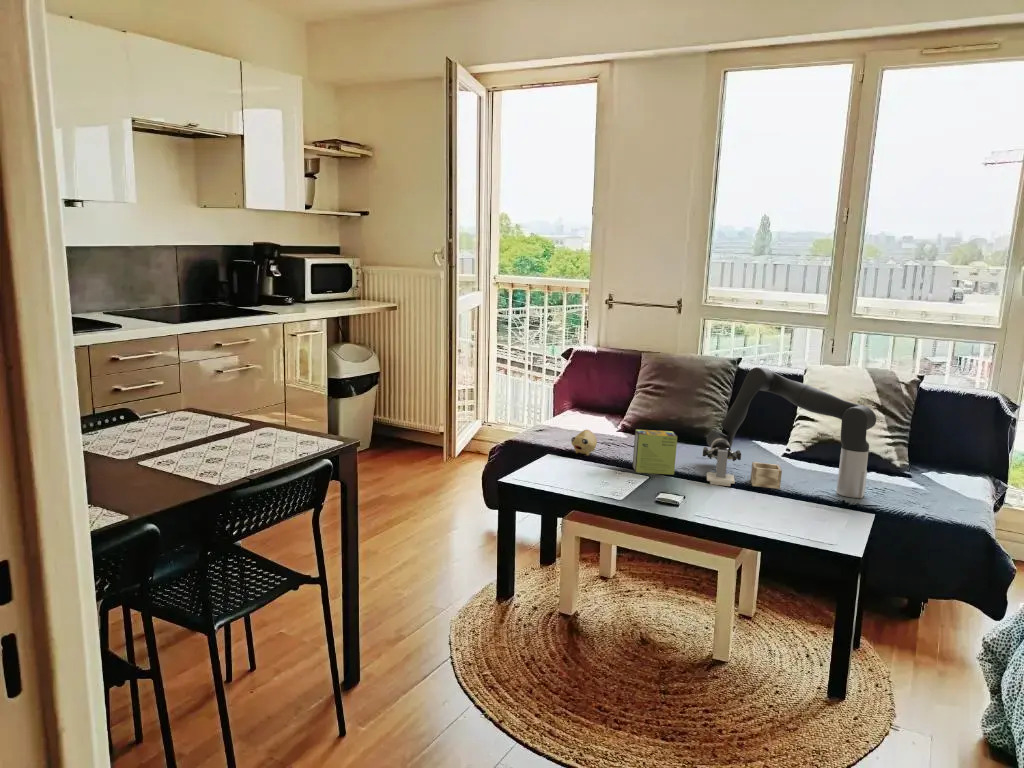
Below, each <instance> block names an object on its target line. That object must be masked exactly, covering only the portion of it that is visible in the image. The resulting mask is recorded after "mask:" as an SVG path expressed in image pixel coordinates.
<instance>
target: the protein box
mask: <svg viewBox="0 0 1024 768" xmlns="http://www.w3.org/2000/svg"><path fill="white" fill-rule="evenodd" d="M677 444H678V435H677V434H676V433H675V432H674V431H669V430H652V429H651V430H650V429H635V430H634V441H633V455H632V457H633V458H632V468H633V470H634V472H635V473H637V474H638V473H641V474H655V475H656V474H657V475H670V476H671V475H672V476H673V475H675V470H676V469H675V468H676V457H677V447H678V445H677Z"/></svg>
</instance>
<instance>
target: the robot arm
mask: <svg viewBox="0 0 1024 768" xmlns="http://www.w3.org/2000/svg"><path fill="white" fill-rule="evenodd" d="M759 391H760V392H761V391H762V392H768V393H772V394H775V395H777V396H781V398H784V399H785V400H787V401H788V402H789V403H791V404H793V405H794V406H796V407H799V409H803V410H806V411H807V412H809V413H810V412H811V413H814V414H819V415H823V416H827V417H833V418H836V419H838V420H841V425H840V442H841V449H840V456H839V464H838V465H839V466H838V475H837V484H836V491H835V492H836V494H837V495H839V496H843V497H847V498H855V499H863V497H865V493H866V484H867V483H866V482H867V475H868V470H867V467H868V460H869V459H868V458H869V450H870V444H869V442H868V441H867V431H868V430H870V429H872V428H874V426H875V425H876V423H877V416H876V414H875V412H874V411H873V410H872V409H871V408H870V407H868V406H866V405H862V404H858V403H854V402H851V401H848V400H844V399H841V398H839V397H837V396H835V395H833V394H831V393H828V392H826V391H824V390H821V389H820V388H817V387H815V386H812V385H808V384H806V383H804V382H799V381H796V380H792V379H789V378H786V377H785V376H783V375H780V374H778V373H776V372H775V371H773V370H771V369H769V368H767V367H766V368H764V367H758V366H757V367H753V368H751V369H750V370H749V371H748V373H746V376H745V378H744V381H743V383H742V385H741V387H740V389H739V392H738V393H737V396H736V398H735V400H734V401H733V403H732V406H731V407H730V408H729V410H728V412H727V413H726V415H725V417H723V420H722V421H721V424H720V426H721V428H722V429H724V431H726V432H727V434H728V435H726V434H724V433H723V432H721V431H719V430H717V429H713V430H710V431H709V432H708V434H707V436H706V444H707V445H708V446H709V447H710V449H709V448H708V447H706V446H704V447H703V448H702V449H703V450H702V457H706V456H707V458H708V459H710V460H712V459H713V458H714V459H716V460H717V456H718V449H719V450H728V456H727V460H732V462H735V461H741V460H742V453H741V450H736V451H734V450H732V449H731V448H732V445H733V443H734V438H735V436H736V434H737V431H738V430H739V428H740V426H741V425H742V424H743V422H744V420H745V419H746V416H747V414H748V410H749V407H750V404H751V401H752V400H753V398H754V397H755V395H756V394H757V393H759Z"/></svg>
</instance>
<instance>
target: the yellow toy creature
mask: <svg viewBox="0 0 1024 768" xmlns="http://www.w3.org/2000/svg"><path fill="white" fill-rule="evenodd" d="M570 441H571V445H572V446H573V448H574V450H575V454H582V455H586V456H587V457H588V456H589V455H590V453H592V452H594V451H595V450H596V447H597V444H598V441H597V437H596V435H595V433H593V431H591V430H589V429H584V430H582V431H581V432H580V433H578V434H577V435H576V436H573V437H572V438H571V440H570Z"/></svg>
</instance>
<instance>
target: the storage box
mask: <svg viewBox="0 0 1024 768" xmlns="http://www.w3.org/2000/svg"><path fill="white" fill-rule="evenodd" d="M782 472H783V471H782V468H781V465H780V464H773V463H767V462H766V463H764V462H754V461H752V462H751V471H750V482H751V483H750V484H751V486H752V487H758V488H759V487H760V488H768V489H769V488H771V489H779V490H780V489H781V484H782Z"/></svg>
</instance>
